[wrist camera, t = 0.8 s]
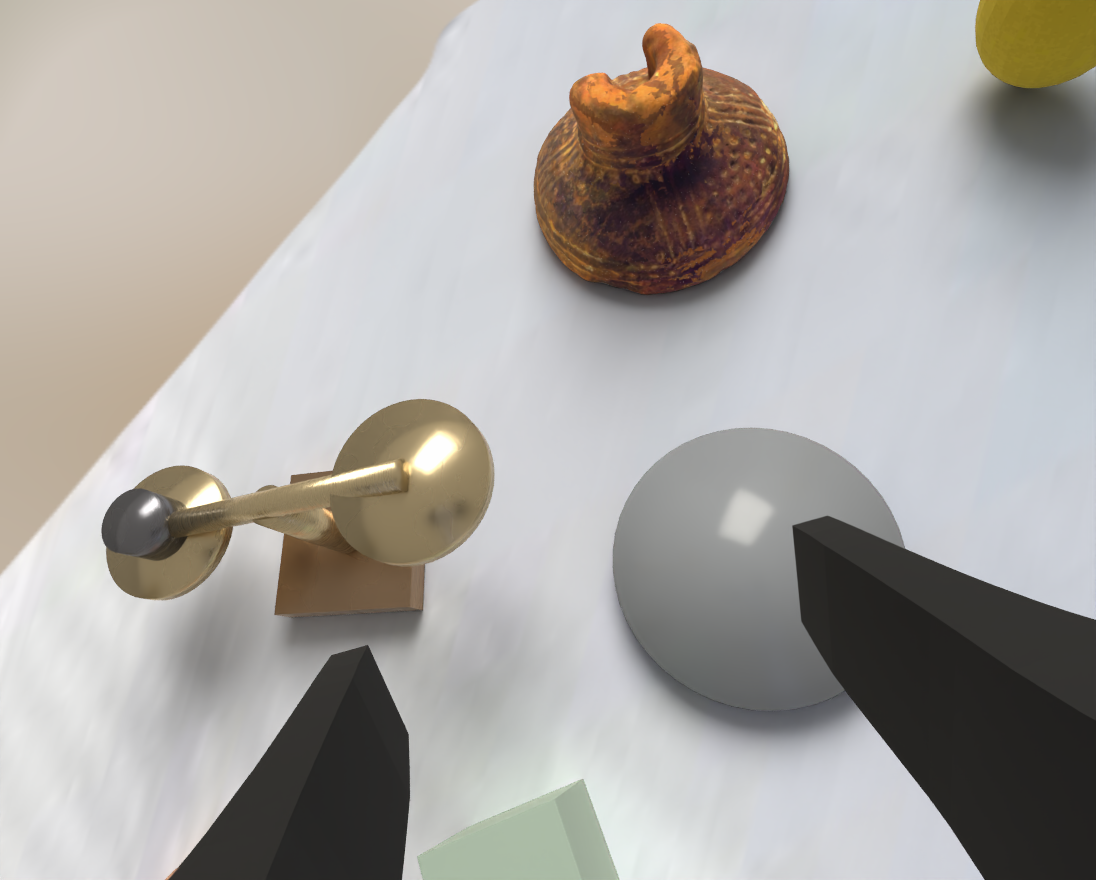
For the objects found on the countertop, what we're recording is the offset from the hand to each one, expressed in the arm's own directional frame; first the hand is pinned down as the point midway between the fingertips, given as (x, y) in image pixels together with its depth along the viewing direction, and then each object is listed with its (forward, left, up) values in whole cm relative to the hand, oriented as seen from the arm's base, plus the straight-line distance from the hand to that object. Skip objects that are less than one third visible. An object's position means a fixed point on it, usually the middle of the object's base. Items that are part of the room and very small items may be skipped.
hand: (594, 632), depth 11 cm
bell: (+21, -2, -15) cm, 26 cm away
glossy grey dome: (+3, -4, -14) cm, 15 cm away
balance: (+5, +12, -14) cm, 19 cm away
